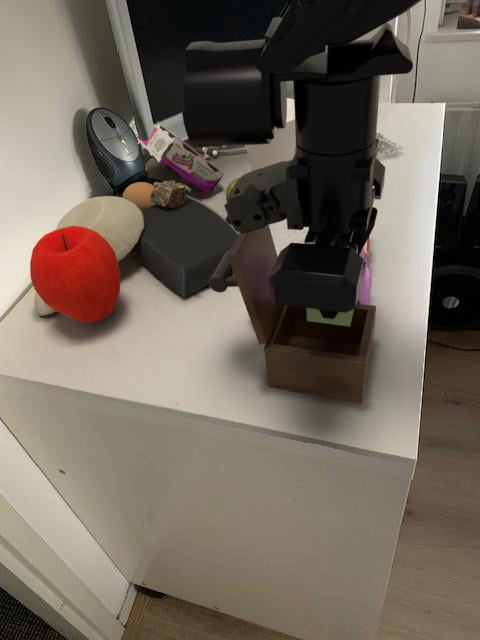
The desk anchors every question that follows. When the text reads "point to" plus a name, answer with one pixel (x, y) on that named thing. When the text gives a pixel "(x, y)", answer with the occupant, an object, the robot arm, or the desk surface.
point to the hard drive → (184, 243)
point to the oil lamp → (103, 227)
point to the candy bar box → (180, 159)
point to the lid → (251, 278)
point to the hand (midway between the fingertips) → (332, 301)
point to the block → (340, 319)
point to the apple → (76, 273)
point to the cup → (276, 144)
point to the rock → (169, 194)
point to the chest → (320, 354)
